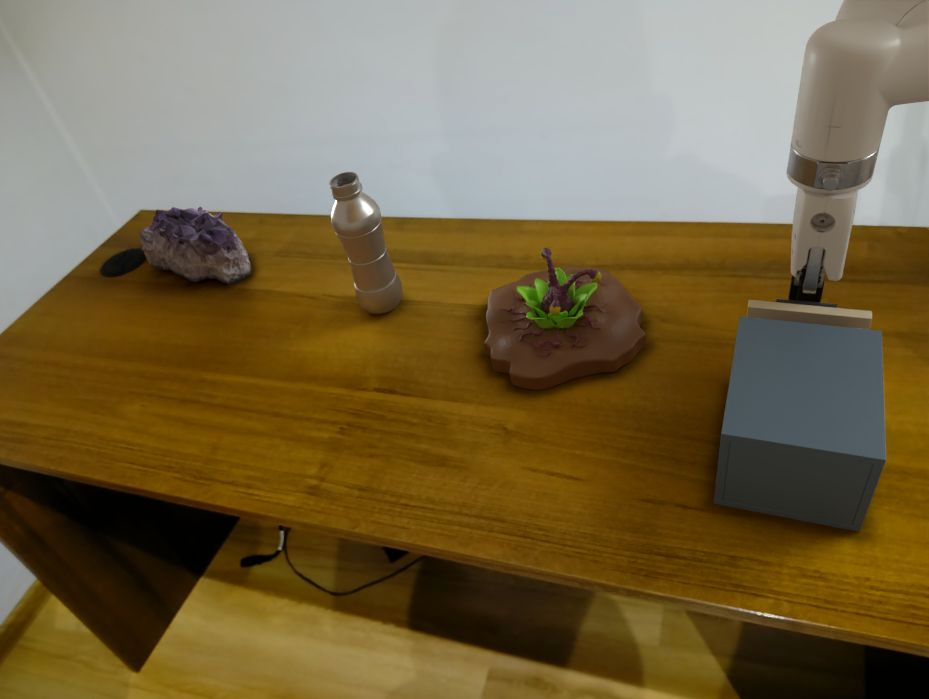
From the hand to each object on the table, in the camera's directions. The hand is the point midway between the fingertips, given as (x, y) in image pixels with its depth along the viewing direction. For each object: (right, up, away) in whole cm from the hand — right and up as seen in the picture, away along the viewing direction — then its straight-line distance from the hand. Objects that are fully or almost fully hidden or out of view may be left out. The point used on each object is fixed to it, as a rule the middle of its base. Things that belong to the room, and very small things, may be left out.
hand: (802, 306), depth 81 cm
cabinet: (-5, -15, -9) cm, 18 cm away
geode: (-80, +9, +37) cm, 88 cm away
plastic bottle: (-49, +1, +21) cm, 54 cm away
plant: (-26, -2, +11) cm, 28 cm away
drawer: (-3, -10, -5) cm, 12 cm away
